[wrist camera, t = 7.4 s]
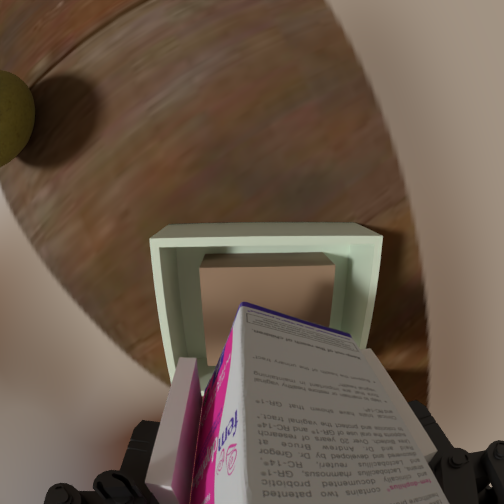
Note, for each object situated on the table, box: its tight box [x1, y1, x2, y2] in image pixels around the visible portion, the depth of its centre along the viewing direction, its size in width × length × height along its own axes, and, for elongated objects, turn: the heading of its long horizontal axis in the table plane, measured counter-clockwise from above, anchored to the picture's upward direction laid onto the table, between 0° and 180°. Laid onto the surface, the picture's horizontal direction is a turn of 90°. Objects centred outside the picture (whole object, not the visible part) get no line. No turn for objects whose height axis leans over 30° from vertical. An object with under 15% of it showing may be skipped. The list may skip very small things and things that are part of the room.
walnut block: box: [199, 252, 336, 366], centre depth 19 cm, size 7×8×3 cm
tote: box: [150, 222, 383, 396], centre depth 19 cm, size 11×13×4 cm
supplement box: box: [190, 302, 449, 504], centre depth 8 cm, size 6×6×12 cm
